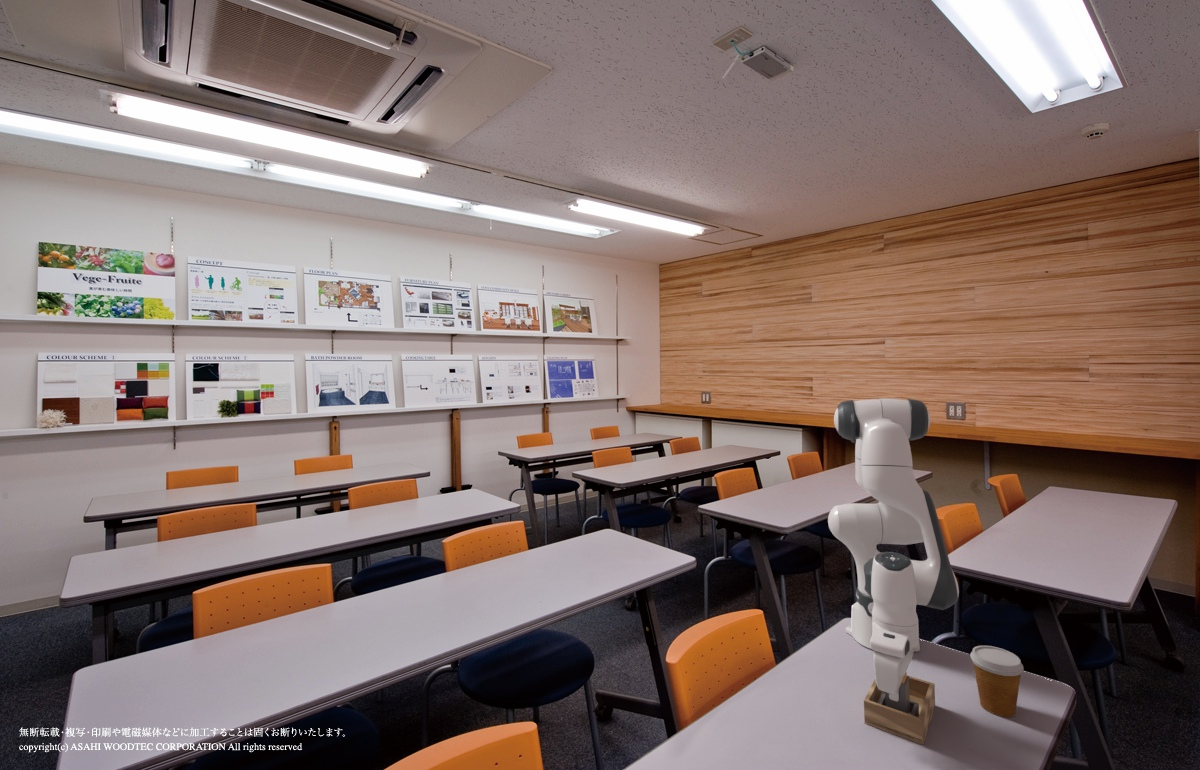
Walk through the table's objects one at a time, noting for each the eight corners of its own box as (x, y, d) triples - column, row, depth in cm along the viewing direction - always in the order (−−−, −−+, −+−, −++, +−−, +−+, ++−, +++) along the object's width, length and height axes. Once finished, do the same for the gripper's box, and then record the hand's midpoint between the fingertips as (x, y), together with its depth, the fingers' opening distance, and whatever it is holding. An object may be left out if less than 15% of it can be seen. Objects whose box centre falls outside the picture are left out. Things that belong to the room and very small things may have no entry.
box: (881, 687, 125) (880, 667, 124) (935, 705, 117) (934, 683, 117) (864, 723, 112) (863, 700, 112) (923, 745, 105) (922, 720, 105)
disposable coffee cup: (1009, 697, 119) (1007, 645, 119) (1035, 724, 110) (1033, 668, 110) (963, 693, 121) (961, 643, 121) (984, 720, 112) (983, 665, 112)
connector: (889, 701, 115) (888, 666, 115) (910, 708, 113) (908, 672, 113) (885, 710, 112) (884, 674, 112) (906, 717, 110) (905, 680, 110)
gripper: (889, 609, 122) (891, 666, 122) (867, 645, 107) (869, 710, 107) (920, 616, 118) (922, 675, 118) (902, 654, 103) (904, 723, 103)
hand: (897, 692), depth 112 cm, fingers closed on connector, 4 cm apart
